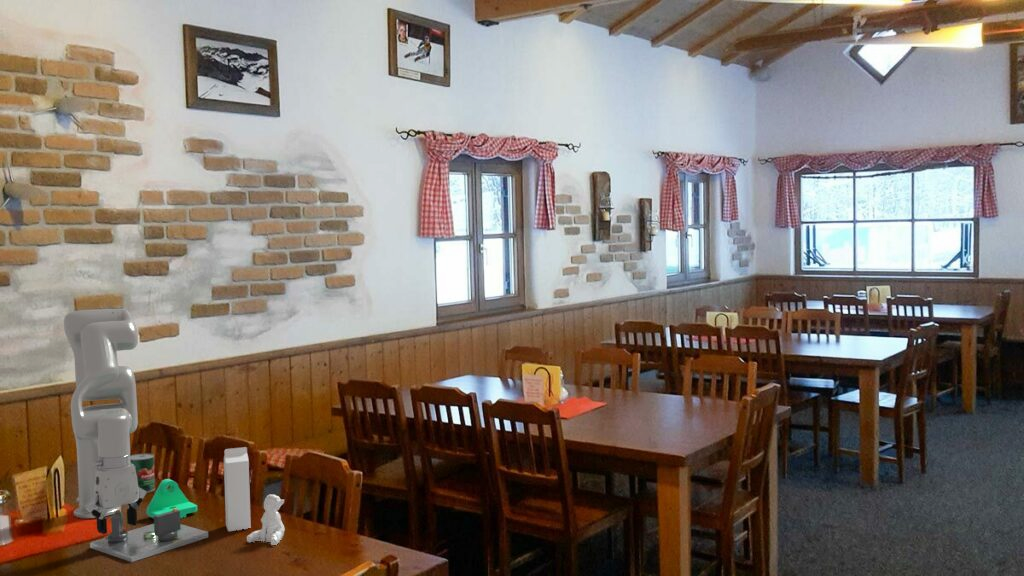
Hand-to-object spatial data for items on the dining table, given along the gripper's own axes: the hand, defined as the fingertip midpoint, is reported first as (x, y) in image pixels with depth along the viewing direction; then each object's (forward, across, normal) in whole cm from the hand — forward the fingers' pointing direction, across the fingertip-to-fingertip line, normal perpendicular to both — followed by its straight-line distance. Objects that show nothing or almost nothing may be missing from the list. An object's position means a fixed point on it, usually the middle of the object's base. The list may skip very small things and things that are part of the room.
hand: (117, 528), depth 232 cm
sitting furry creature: (+5, +25, -30) cm, 39 cm away
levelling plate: (+5, +6, -5) cm, 9 cm away
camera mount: (+5, +23, +11) cm, 26 cm away
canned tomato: (+5, +34, +44) cm, 56 cm away
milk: (+5, +27, -14) cm, 31 cm away
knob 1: (+3, 0, 0) cm, 3 cm away
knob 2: (+3, +8, -10) cm, 13 cm away
